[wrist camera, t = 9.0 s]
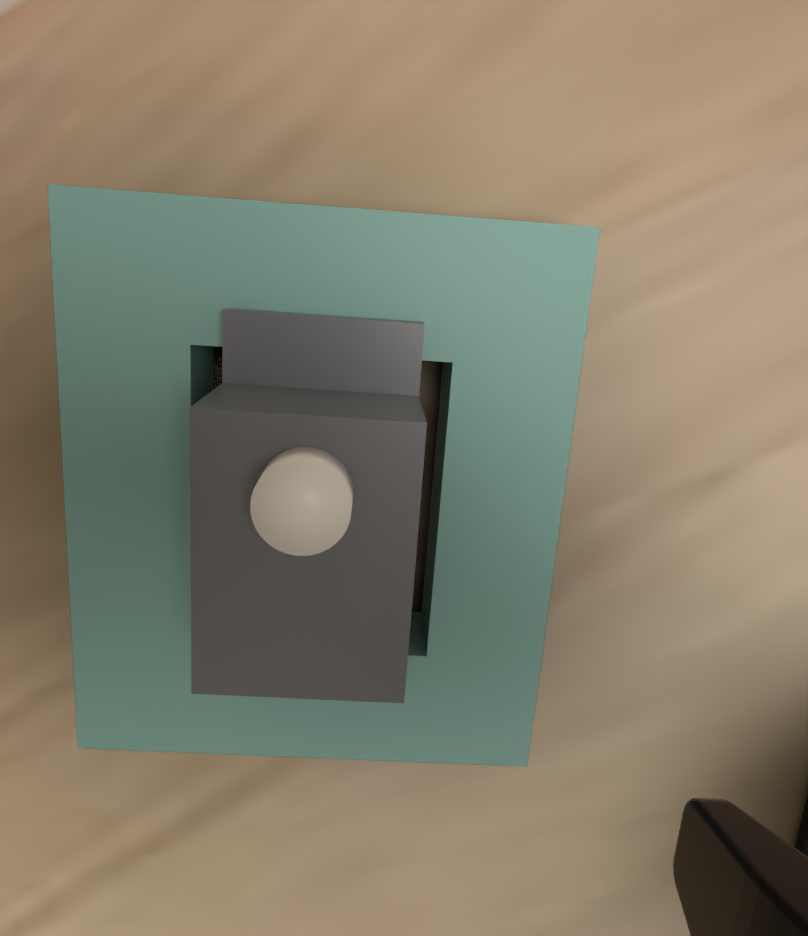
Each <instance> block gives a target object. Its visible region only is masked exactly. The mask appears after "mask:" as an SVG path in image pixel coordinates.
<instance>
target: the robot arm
mask: <svg viewBox="0 0 808 936" xmlns="http://www.w3.org/2000/svg"><path fill="white" fill-rule="evenodd" d="M673 869H674V878H675V884H676V887H677V891H678V894H679V898H680V901H681V904H682V908H683V911H684V915H685V918H686V921H687V925H688V928H689V932H690V935H691V936H808V799H807V802H806V806H805V810H804V814H803V818H802V822H801V826H800V830H799V833H798V837H797V841H796V845H795V848H794V847H793V846H791V845H790V844H789V843H787V842H786V841H785V840H783V839H782V838H780V837H779V836H778V835H776V834H775V833H773V832H772V831H771V830H769V829H768V828H766V827H765V826H764V825H762V824H761V823H759V822H758V821H757V820H755V819H754V818H752V817H751V816H750V815H748V814H747V813H745V812H744V811H743V810H741V809H740V808H738V807H737V806H736V805H734V804H733V803H731V802H729V801H727V800H724V799H708V798H693V799H691V800H689V801H688V802H687V804H686V805H685V808H684V811H683V815H682V820H681V825H680V830H679V835H678V840H677V845H676V850H675V855H674V863H673Z"/></svg>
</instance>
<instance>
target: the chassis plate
mask: <svg viewBox="0 0 808 936" xmlns="http://www.w3.org/2000/svg"><path fill="white" fill-rule="evenodd" d="M47 185H48V204H49V222H50V241H51V260H52V278H53V297H54V315H55V334H56V352H57V371H58V390H59V408H60V427H61V445H62V464H63V482H64V501H65V520H66V538H67V557H68V575H69V594H70V613H71V631H72V650H73V668H74V687H75V705H76V724H77V743H78V748H86V749H110V750H134V751H159V752H183V753H207V754H231V755H256V756H280V757H304V758H329V759H353V760H377V761H401V762H426V763H450V764H474V765H498V766H523V767H527V763H528V756H529V749H530V741H531V734H532V726H533V719H534V712H535V704H536V697H537V690H538V682H539V675H540V667H541V660H542V653H543V645H544V638H545V631H546V623H547V616H548V609H549V601H550V594H551V586H552V579H553V572H554V564H555V557H556V550H557V542H558V535H559V528H560V520H561V513H562V505H563V498H564V491H565V483H566V476H567V469H568V461H569V454H570V447H571V439H572V432H573V424H574V417H575V410H576V402H577V395H578V388H579V380H580V373H581V365H582V358H583V351H584V343H585V336H586V329H587V321H588V314H589V307H590V299H591V292H592V284H593V277H594V270H595V262H596V255H597V248H598V240H599V233H600V227H590V226H577V225H564V224H551V223H538V222H526V221H513V220H500V219H487V218H474V217H461V216H449V215H436V214H423V213H410V212H397V211H384V210H371V209H359V208H346V207H333V206H320V205H307V204H294V203H282V202H269V201H256V200H243V199H230V198H217V197H204V196H192V195H179V194H166V193H153V192H140V191H127V190H115V189H102V188H89V187H76V186H63V185H50V184H47ZM227 308H234V309H248V310H262V311H276V312H291V313H305V314H319V315H333V316H347V317H361V318H375V319H389V320H404V321H418V322H424V324H425V328H424V341H423V354H422V360H423V361H438V362H443V366H442V378H441V389H440V401H439V413H438V424H437V436H436V448H435V460H434V471H433V483H432V495H431V506H430V518H429V530H428V541H427V553H426V565H425V576H424V588H423V600H422V612H412V613H411V625H410V638H409V650H408V662H407V674H406V687H405V699H404V703H384V702H362V701H340V700H318V699H296V698H274V697H251V696H229V695H207V694H191V543H190V407H191V406H193V405H194V404H195V403H197V402H198V401H199V400H200V399H202V398H203V397H204V396H206V395H207V394H208V393H210V392H211V391H212V390H214V346H217V347H222V339H223V309H227Z"/></svg>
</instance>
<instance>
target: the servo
mask: <svg viewBox="0 0 808 936" xmlns="http://www.w3.org/2000/svg"><path fill="white" fill-rule="evenodd" d="M424 328H425V324H424V322H418V321H404V320H389V319H375V318H361V317H347V316H333V315H319V314H305V313H291V312H276V311H262V310H248V309H234V308H227V309H223V339H222V384H220V385H219V386H218V387H216V388H215V389H214V390H212V391H211V392H210V393H208V394H207V395H206V396H204V397H203V398H202V399H200V400H199V401H198V402H197V403H195V404H194V405H193V406H191V407H190V543H191V694H207V695H229V696H251V697H274V698H296V699H318V700H340V701H362V702H384V703H404V699H405V687H406V674H407V662H408V650H409V638H410V625H411V613H412V601H413V589H414V577H415V564H416V552H417V540H418V528H419V515H420V503H421V491H422V479H423V467H424V454H425V442H426V430H427V421H426V417H425V414H424V411H423V407H422V404H421V400H420V397H419V392H420V380H421V367H422V354H423V341H424Z"/></svg>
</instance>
